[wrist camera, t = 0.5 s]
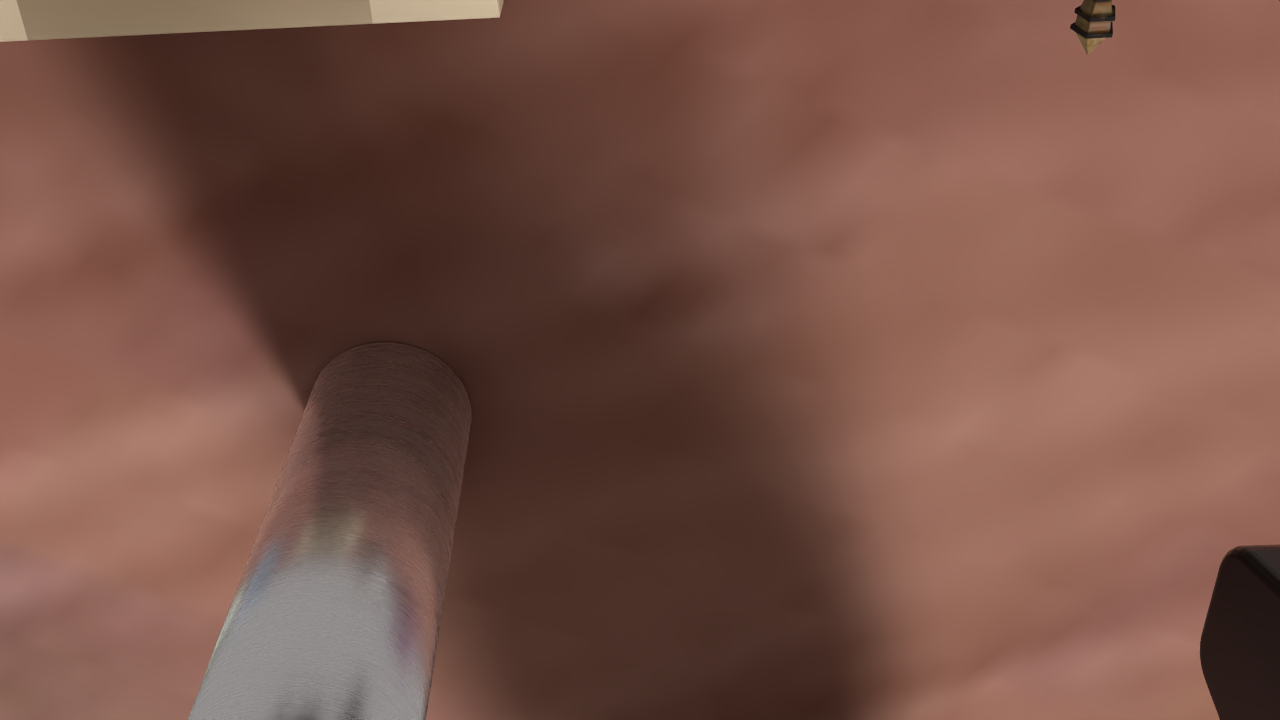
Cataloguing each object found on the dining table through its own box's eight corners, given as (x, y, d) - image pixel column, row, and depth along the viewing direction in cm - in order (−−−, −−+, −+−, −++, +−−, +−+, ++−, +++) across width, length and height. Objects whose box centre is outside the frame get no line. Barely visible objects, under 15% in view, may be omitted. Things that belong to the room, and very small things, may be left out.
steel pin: (479, 472, 24) (426, 872, 16) (325, 480, 24) (195, 885, 16) (462, 337, 22) (394, 706, 14) (297, 346, 22) (139, 720, 14)
